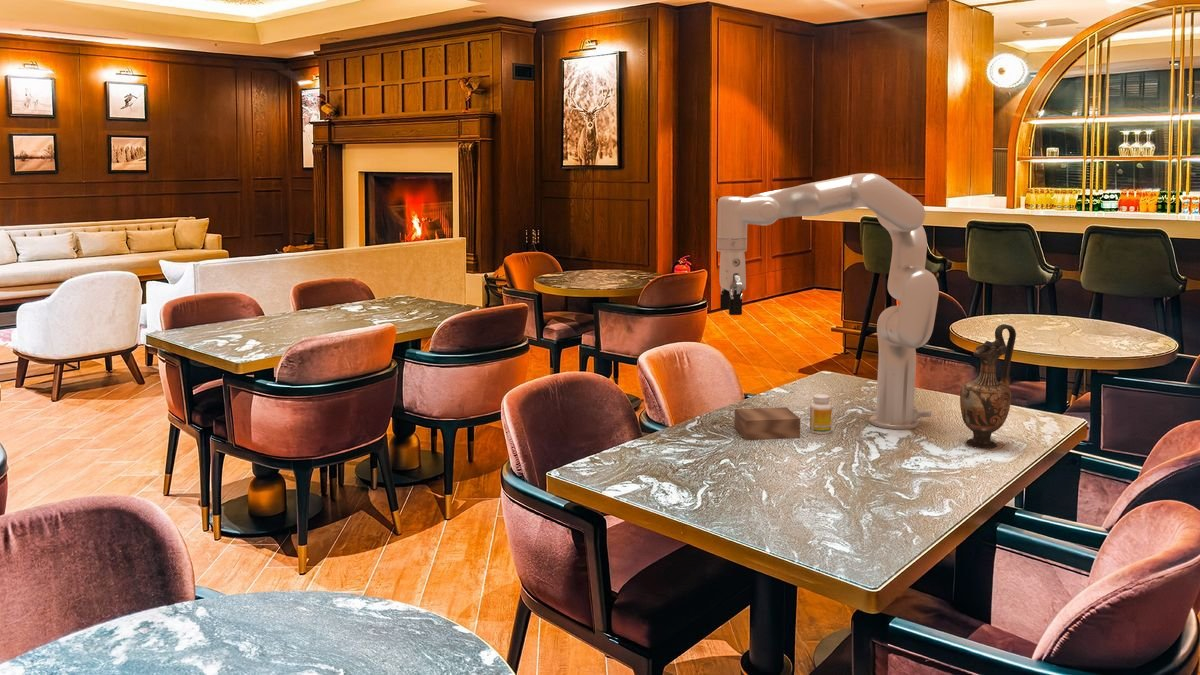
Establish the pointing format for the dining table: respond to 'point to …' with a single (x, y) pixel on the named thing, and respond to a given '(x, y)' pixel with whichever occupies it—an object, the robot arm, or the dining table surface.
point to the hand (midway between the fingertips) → (730, 312)
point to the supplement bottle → (820, 415)
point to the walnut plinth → (767, 423)
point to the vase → (988, 391)
